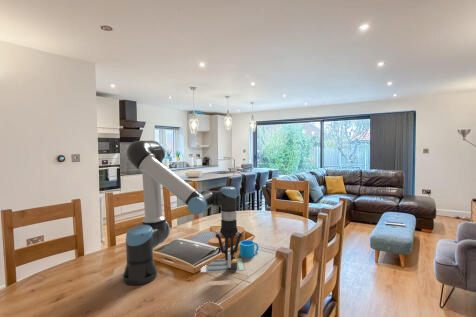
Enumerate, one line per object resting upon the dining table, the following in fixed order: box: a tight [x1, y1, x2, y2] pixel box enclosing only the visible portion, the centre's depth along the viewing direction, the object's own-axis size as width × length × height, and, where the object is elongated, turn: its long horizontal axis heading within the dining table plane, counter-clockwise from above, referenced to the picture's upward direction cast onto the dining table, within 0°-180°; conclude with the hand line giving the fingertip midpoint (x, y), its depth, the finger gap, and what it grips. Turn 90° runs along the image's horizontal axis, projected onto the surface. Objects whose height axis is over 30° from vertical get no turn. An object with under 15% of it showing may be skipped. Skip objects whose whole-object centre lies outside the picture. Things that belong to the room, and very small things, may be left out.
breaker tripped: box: [231, 259, 237, 270], centre depth 130 cm, size 3×2×4 cm
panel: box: [199, 257, 246, 274], centre depth 134 cm, size 22×14×2 cm, turn 96°
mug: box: [239, 239, 260, 259], centre depth 148 cm, size 12×8×8 cm
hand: (229, 266), depth 129 cm, fingers closed
